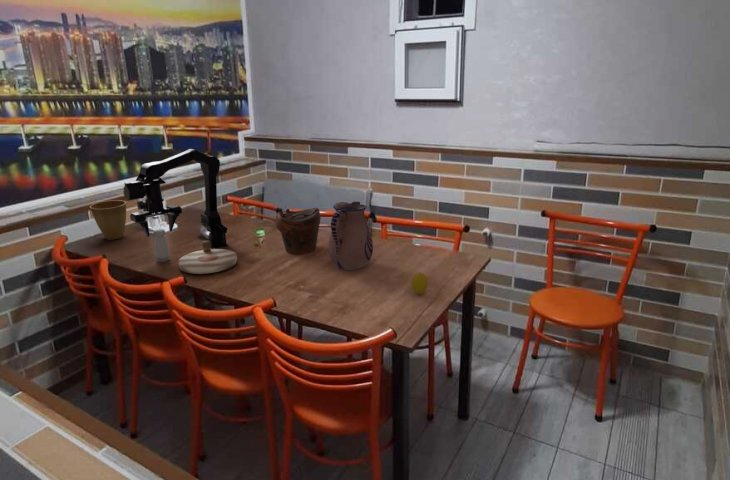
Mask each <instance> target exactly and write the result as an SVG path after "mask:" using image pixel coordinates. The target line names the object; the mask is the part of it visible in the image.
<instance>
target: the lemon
mask: <svg viewBox="0 0 730 480" xmlns="http://www.w3.org/2000/svg"><path fill="white" fill-rule="evenodd" d="M428 286H429V282H428V278H427V276H426V275H425V274H424V273H422V272H418V273H416V274H414V275H413V277H412V278H411V289H412V290H413V292H414V293H416V294H418V295H421V294H423V293H426V291H427V289H428Z"/></svg>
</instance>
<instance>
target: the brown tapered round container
mask: <svg viewBox="0 0 730 480" xmlns="http://www.w3.org/2000/svg"><path fill="white" fill-rule="evenodd" d="M320 212H321V211H320V209H319V208H318V207H312V208H307V209H302V210H297V211H293V210H291V211H290V210H283V211H278V212H277V214H276V219H275V227H276V228H277V230H278V232H279V233H281V238H282V241H283V245H284V249H285V251H286V252H287V253H289V254H298V255H301V254H308V253H312V252H314V251H315V250H316V248H317V244H318V238H319V229H320V224H321V218H322V217H321V213H320Z"/></svg>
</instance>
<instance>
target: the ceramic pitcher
mask: <svg viewBox="0 0 730 480" xmlns="http://www.w3.org/2000/svg"><path fill="white" fill-rule="evenodd" d="M332 207H333V209H334V210H335V212H334V213H333V214H332V217H331V220H330V231H331V232H330V235H329V239H328V244H327V245H328V246H327V249H328V250H327V252H328V253H327V254H328V255H329V258H330V259H331V262H332V263H333V264H334V266H336V267H337V268H339V269H342V270H344V271H356V270H360V269H361V268H363V267H365V266H366V265H367V264H368V263H369V262H370V261H371V260H372V259H371V258H372V256H373V253H374V242H373V238H372V233H371V230H370V227H369V224H368V221H367V218H366V216H365V215H366V214H365V211H366V210H367V205H364V204H362V203H361V202H360V201H352V202H351V203H349V202H344V201H341V202H336V203H334V204H333V206H332Z"/></svg>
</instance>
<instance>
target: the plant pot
mask: <svg viewBox="0 0 730 480" xmlns="http://www.w3.org/2000/svg"><path fill="white" fill-rule="evenodd" d="M89 209H90V211H91V214H92V217H93V219H94V221H95V223H96V225H97V227H98V228H99V230H100V232H101V234H102V235H103V237H104V238H105V239H106V240H110V241H111V240H117V239H121V238H123V237H124V233H125V229H126V223H127V202H126V201H125V200H119V199H115V200H114V199H113V200H105V201H104V200H103V201H100V202H95V203H93V204H91V205H89Z"/></svg>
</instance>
